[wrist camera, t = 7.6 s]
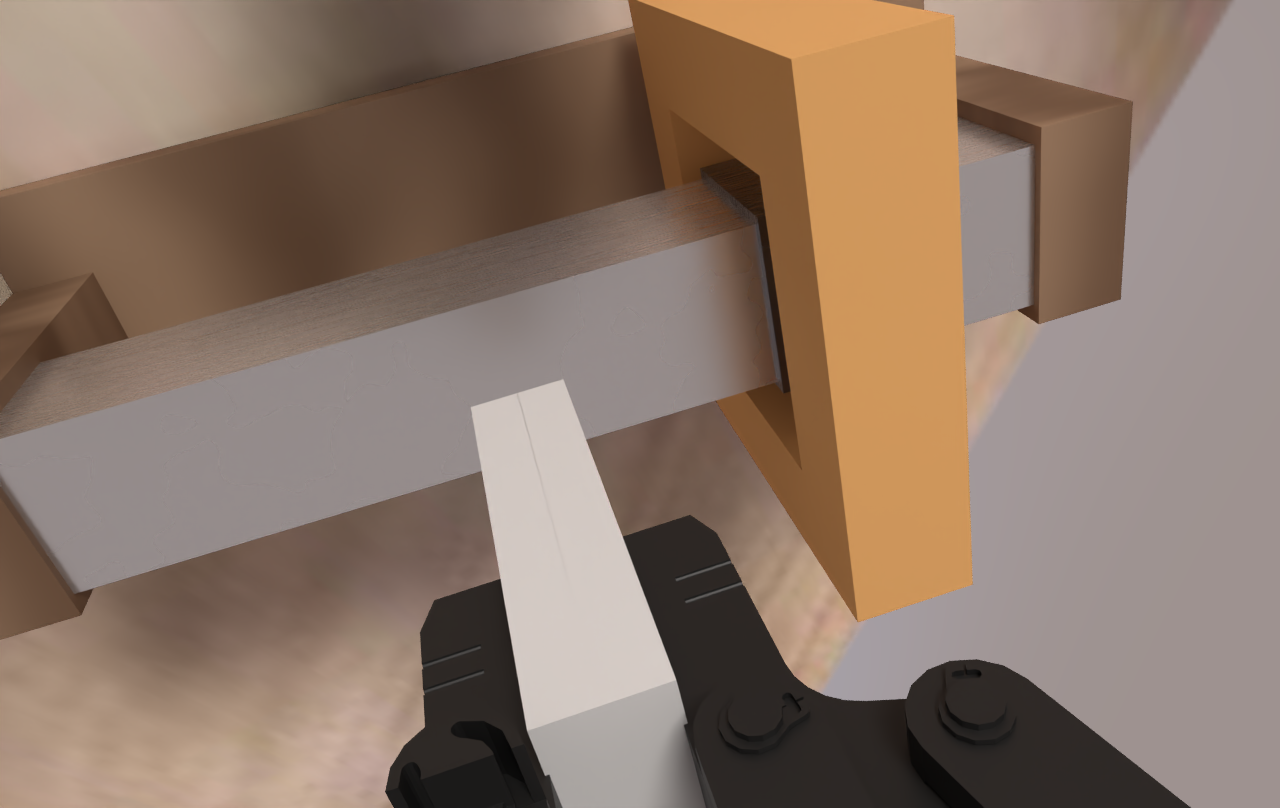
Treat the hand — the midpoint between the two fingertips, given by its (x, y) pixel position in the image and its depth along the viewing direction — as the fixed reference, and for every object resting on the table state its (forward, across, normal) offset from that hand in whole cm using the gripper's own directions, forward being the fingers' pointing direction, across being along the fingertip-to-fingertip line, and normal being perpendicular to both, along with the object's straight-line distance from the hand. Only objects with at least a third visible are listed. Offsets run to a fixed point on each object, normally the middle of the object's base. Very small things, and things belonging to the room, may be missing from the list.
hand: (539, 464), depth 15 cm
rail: (+8, +1, -1) cm, 8 cm away
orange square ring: (+11, +6, -1) cm, 13 cm away
